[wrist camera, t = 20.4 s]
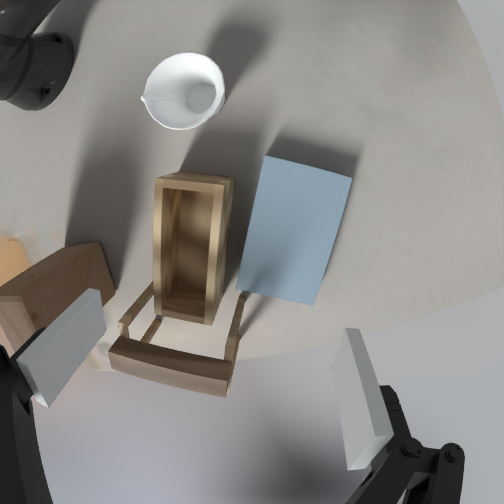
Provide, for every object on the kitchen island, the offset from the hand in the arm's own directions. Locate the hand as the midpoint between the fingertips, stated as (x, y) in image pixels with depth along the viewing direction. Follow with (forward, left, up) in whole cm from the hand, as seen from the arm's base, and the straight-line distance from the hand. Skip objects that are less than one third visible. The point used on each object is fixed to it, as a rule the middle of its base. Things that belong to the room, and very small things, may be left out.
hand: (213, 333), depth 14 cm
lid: (+1, +5, -27) cm, 28 cm away
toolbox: (+9, -7, -27) cm, 29 cm away
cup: (-14, -9, -27) cm, 32 cm away
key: (+17, -7, -15) cm, 23 cm away
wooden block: (+14, -28, -27) cm, 41 cm away
